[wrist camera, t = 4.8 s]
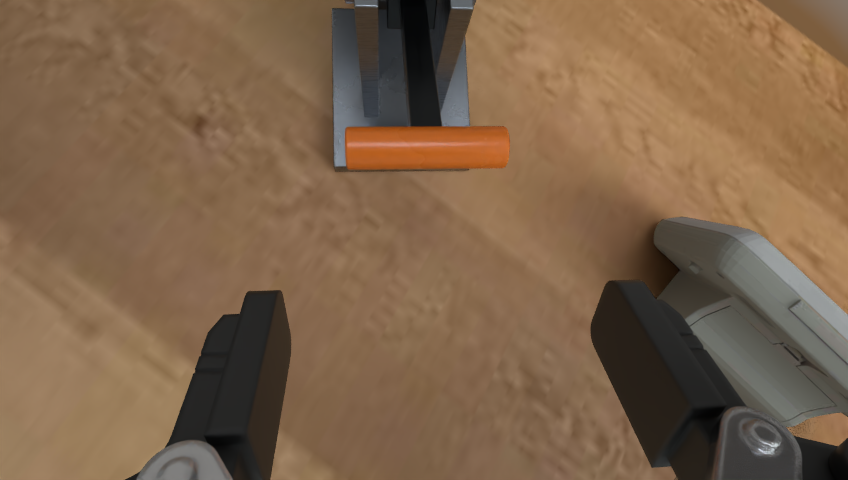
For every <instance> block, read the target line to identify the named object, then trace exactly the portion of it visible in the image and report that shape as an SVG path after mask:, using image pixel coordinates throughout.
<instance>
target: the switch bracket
mask: <svg viewBox="0 0 848 480" xmlns="http://www.w3.org/2000/svg"><path fill="white" fill-rule="evenodd" d="M475 2H476V0H437V6H436V17H435V28H434V30H430V37H431V44H432V52H433V60H434V67H435V75H436V83H437V90H438V98H439V106H440V113H441V121H442V126H470V120H469V101H468V82H467V63H466V44H465V34H466V31H467V28H468V25H469V22H470V18H471V15H472V12H473V9H474V5H475ZM345 3H353V4H354V9H341V8H332V61H333V142H334V168H335V171H336V172H343V171H435V170H469V169H378V170H349V169H347V167H346V159H345V129H346V127H386V126H408V119H407V106H406V93H405V80H404V66H403V53H402V40H401V29H388V28H387V13H386V9H379V6H378V0H345Z"/></svg>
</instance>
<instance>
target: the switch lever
mask: <svg viewBox="0 0 848 480" xmlns="http://www.w3.org/2000/svg"><path fill="white" fill-rule="evenodd" d="M436 6H437V0H386V13H387V28H388V29H401V40H402V53H403V66H404V80H405V93H406V106H407V119H408V126H386V127H346V129H345V159H346V167H347V169H349V170H378V169H473V168H504V167H505V166H506V165H507V162H508V158H509V152H510V139H509V133H508V130H507V128H506V127H504V126H442V121H441V113H440V106H439V98H438V90H437V83H436V75H435V67H434V60H433V52H432V44H431V37H430V30H434V28H435V17H436Z"/></svg>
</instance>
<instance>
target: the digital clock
mask: <svg viewBox="0 0 848 480" xmlns="http://www.w3.org/2000/svg"><path fill="white" fill-rule="evenodd" d="M654 244H655V246H656V247H657V248H658V249H659V250H660V251H661V252H662V253H663V254H664V255H665V256H666V257H667V258H668V259H669V260H670V261H672V262H673V263H674V264H675V265H676V266H677V267H678V268H679V269H680V271H679V272H678V273H677V274H676V276H675V277H674V278H673V279H672V280H671V282H670V283H669V284H668V285H667V286H666V288H665V289H664V290H663V291H662V293H661V294H660V295H659V296H658V297H657V298H656V300H664V301H665V302H666V303H667V304H669V305H670V306H671V307H672V308H674V309H675V310H676V311H677V312H679V313H680V314H681V315H682V316H683V318H684V319H685V321H686V322H687V323H688V325H689V326H690V328H691V329H692V330H693V334H694V335H696V336H697V337H698V339H699V340H700V342H701V343H702V344H703V348H704V350H707V351H708V353H709V354H710V356H711V357H712V358H713V360H714V361H715V363H716V364H717V365H718V367H719V368H720V370H721V371H722V372H723V374H724V375H725V377H726V378H727V379H728V381H729V382H730V384H731V385H732V386H733V388H734V389H735V391H736V392H737V393H738V395H739V396H740V398H741V399H742V400H743V402H744V403H745V404H746V406H747V407H750V408H754V409H757V410H760V411H762V412H764V413H766V414H768V415H770V416H772V417H773V418H775V419H776V420H778V421H779V422H780V423H781V424H783V425H784V426H785V427H793V426H796V425H798V424H800V423H801V422H803V421H805V420H806V419H809V418H812V417H816V416H821V415H826V414H832V413H840V412H841V413H843V414H844V415H846V416H847V417H848V315H847V314H846V313H845V312H844V311H843V310H842V309H841V308H840V307H839V306H838V305H836V304H835V303H834V302H833V301H832V300H831V299H830V298H829V297H828V296H827V295H826V294H825V293H824V292H823V291H822V290H820V289H819V288H818V287H817V286H816V285H815V284H814V283H813V282H812V281H811V280H810V279H809V278H808V277H807V276H806V275H804V274H803V273H802V272H801V271H800V270H799V269H798V268H797V267H796V266H795V265H794V264H793V263H792V262H790V261H789V260H788V259H787V258H786V257H785V256H784V255H783V254H782V253H781V252H780V251H778V250H777V249H776V248H775V247H774V246H773V245H772V244H771V243H770V242H769V241H767V240H766V239H765V238H764V237H762V236H761V235H760V234H758V233H756V232H754V231H752V230H749V229H745V228H741V227H736V226H731V225H725V224H720V223H714V222H709V221H703V220H698V219H692V218H687V217H676V218H669V219H663V220H662V221H661V222H660V223H659V224H658V225H657V227H656V229H655V232H654Z"/></svg>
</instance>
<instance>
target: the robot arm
mask: <svg viewBox="0 0 848 480" xmlns="http://www.w3.org/2000/svg"><path fill="white" fill-rule="evenodd" d="M591 339H592V343H593V345H594V348H595V350H596V352H597V354H598V356H599V358H600V360H601V362H602V364H603V367H604V369H605V371H606V373H607V375H608V377H609V379H610V381H611V383H612V385H613V387H614V390H615V392H616V394H617V396H618V398H619V400H620V402H621V404H622V406H623V408H624V410H625V413H626V415H627V417H628V419H629V421H630V423H631V425H632V427H633V429H634V431H635V433H636V436H637V438H638V440H639V442H640V444H641V446H642V448H643V450H644V452H645V454H646V456H647V458H648V461H649V463H650V465H651V467H652V468H654V467H667V466H671V467H672V468H673V470H674V472H675V474H676V478H675V479H674V480H848V438H847V439H846V440H845V441H844V442H843V443H842V444H840V445H839V446H834V445H829V444H825V443H821V442H817V441H813V440H808V439H804V438H800V437H796V436H793V435H792V434H791V433H790V431H789V430H788V429H787V428H786V427H785V426H784V425H783V424H781V423H780V422H779V421H778V420H776V419H775V418H773V417H772V416H770V415H768V414H766V413H764V412H762V411H760V410H757V409H754V408H750V407H747V406H746V404H745V403H744V402H743V400H742V399H741V398H740V396H739V395H738V393H737V392H736V391H735V389H734V388H733V386H732V385H731V384H730V382H729V381H728V379H727V378H726V377H725V375H724V374H723V372H722V371H721V370H720V368H719V367H718V365H717V364H716V363H715V361H714V360H713V358H712V357H711V356H710V354H709V353H708V351H707V350H704V348H703V344H702V343H701V342H700V340H699V339H698V337H697V336H696V335H694V334H693V330H692V329H691V328H690V326H689V325H688V323H687V322H686V321H685V319H684V318H683V316H682V315H681V314H680V313H679V312H677V311H676V310H675V309H674V308H672V307H671V306H670V305H669V304H667V303H666V302H665V301H664V300H656V299H655V297H654V296H653V294H652V293H651V291H650V290H649V289H648V287H647V286H646V284H645V283H644V282H643V281H641V280H612V281H608V282H607V283H606V285H605V287H604V290H603V292H602V295H601V298H600V300H599V303H598V306H597V308H596V311H595V314H594V316H593V319H592V322H591ZM290 356H291V335H290V329H289V324H288V319H287V314H286V309H285V303H284V298H283V294H282V292H281V290H273V291H248V292H247V293H246V295H245V298H244V302H243V305H242V308H241V312H240V314H228V315H223V316H222V317H221V318H220V320H219V321H218V322H217V323H216V324H215V325H214V326H213V327H212V329H211V330H210V331H209V332H208V334H207V337H206V340H205V343H204V346H203V348H202V351H201V356H200V357H199V360H198V362H197V365H196V368H195V373H194V374H193V376H192V379H191V382H190V385H189V388H188V390H187V393H186V396H185V399H184V402H183V404H182V407H181V410H180V413H179V416H178V418H177V421H176V424H175V427H174V430H173V432H172V435H171V437H170V440H169V442H168V443H167V445H166V447H165V448H164V449H163V450H161V451H160V452H158V453H157V454H156V455H155V456H153V457H152V458H151V459H150V460H149V461H148V462H147V464H146V465H145V466H144V467H143V469H142V470H141V471H140V472H139V473H137V474H135V475H133V476H132V477H130V478H127V479H125V480H270V477H271V471H272V465H273V459H274V453H275V447H276V441H277V435H278V429H279V423H280V417H281V411H282V405H283V399H284V393H285V387H286V381H287V375H288V369H289V363H290Z"/></svg>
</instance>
